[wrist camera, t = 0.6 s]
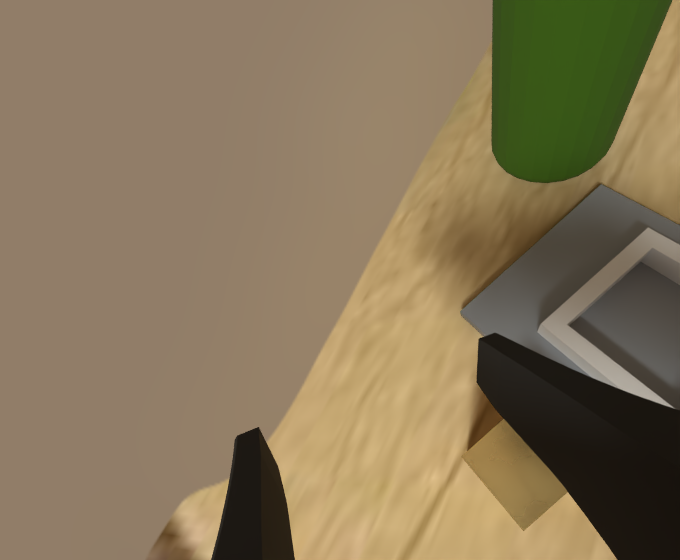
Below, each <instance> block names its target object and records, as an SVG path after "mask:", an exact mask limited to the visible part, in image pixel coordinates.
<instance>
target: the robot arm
mask: <svg viewBox="0 0 680 560" xmlns="http://www.w3.org/2000/svg"><path fill="white" fill-rule="evenodd" d="M477 384H478V385H479V387H480V388H481V389H482V391H483V392H484V394H485V395H486V397H487V398H488V400H489V401H490V402H491V404H492V405H493V406H494V408H495V409H496V410H497V412H498V413H499V414H500V415H501V416H502V417H503V418H504V420H505V421H506V422H507V423H508V424H509V425H510V426H511V427H512V428H513V430H514V431H515V432H516V433H517V434H518V435H519V436H520V437H521V438H522V440H523V441H524V442H525V443H526V444H527V445H528V446H529V447H530V448H531V450H532V451H533V452H534V453H535V454H536V455H537V456H538V457H539V458H540V459H541V461H542V462H543V463H544V464H545V465H546V466H547V467H548V468H549V469H550V471H551V472H552V473H553V474H554V475H555V476H556V478H557V479H558V480H559V481H560V482H561V484H562V485H563V486H564V487H565V489H566V490H567V491H568V493H569V494H570V495H571V497H572V498H573V499H574V501H575V502H576V503H577V505H578V506H579V507H580V508H581V510H582V511H583V512H584V514H585V515H586V516H587V518H588V519H589V521H590V522H591V523H592V525H593V526H594V527H595V529H596V530H597V532H598V533H599V534H600V536H601V537H602V538H603V540H604V541H605V543H606V544H607V545H608V547H609V548H610V549H611V551H612V552H613V554H614V555H615V557H616V558H617V560H680V410H678V409H675V408H671V407H668V406H665V405H662V404H660V403H657V402H654V401H651V400H648V399H645V398H643V397H640V396H637V395H634V394H631V393H629V392H626V391H624V390H621V389H618V388H616V387H613V386H611V385H609V384H606V383H604V382H601V381H599V380H596V379H594V378H592V377H589V376H587V375H585V374H582V373H580V372H578V371H576V370H573V369H571V368H569V367H567V366H565V365H562V364H560V363H558V362H556V361H554V360H552V359H550V358H547V357H545V356H543V355H541V354H539V353H537V352H535V351H533V350H531V349H529V348H527V347H525V346H523V345H520V344H518V343H516V342H514V341H512V340H510V339H508V338H506V337H504V336H502V335H500V334H498V333H492V334H490V335H487V336H485V337H482V338H480V339H479V343H478V363H477ZM211 560H295V558H294V551H293V544H292V536H291V529H290V522H289V515H288V508H287V502H286V498H285V493H284V489H283V485H282V481H281V477H280V472H279V468H278V465H277V463H276V461H275V459H274V457H273V455H272V453H271V451H270V449H269V447H268V445H267V443H266V441H265V439H264V437H263V435H262V433H261V431H260V429H259V427H258V428H255V429H253V430H250V431H248V432H245V433H243V434H240V435H238V436H237V437H236V439H235V443H234V453H233V460H232V468H231V473H230V479H229V485H228V490H227V495H226V500H225V505H224V509H223V514H222V519H221V523H220V528H219V532H218V536H217V540H216V543H215V547H214V551H213V555H212V559H211Z"/></svg>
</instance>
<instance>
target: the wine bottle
mask: <svg viewBox="0 0 680 560" xmlns="http://www.w3.org/2000/svg"><path fill="white" fill-rule="evenodd" d="M671 2H672V0H493V32H492V151H493V154H494V156H495V158H496V160H497V162H498V164H499V165H500V166H501V167H502V168H503V169H504V170H505V171H506V172H508V173H509V174H511V175H513V176H515V177H517V178H519V179H523V180H526V181H530V182H541V183H550V182H557V181H564V180H567V179H570V178H573V177H576V176H579V175H580V174H582V173H584V172H585V171H587V170H589V169H591V168H592V167H593V166H594V165H595V164H596V163H598V162H599V161H600V160H601V159H602V158H603V157H604V156H605V155H606V154H607V152H608V150H609V148H610V147H611V145H612V143H613V141H614V138H615V136H616V134H617V131H618V129H619V127H620V124H621V122H622V119H623V117H624V115H625V112H626V110H627V107H628V105H629V103H630V100H631V98H632V95H633V93H634V91H635V88H636V86H637V83H638V81H639V79H640V76H641V74H642V72H643V69H644V67H645V64H646V62H647V60H648V57H649V55H650V52H651V50H652V48H653V45H654V43H655V40H656V38H657V36H658V33H659V31H660V29H661V26H662V24H663V21H664V19H665V17H666V14H667V12H668V9H669V7H670V5H671Z"/></svg>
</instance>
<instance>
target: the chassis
mask: <svg viewBox="0 0 680 560" xmlns="http://www.w3.org/2000/svg"><path fill="white" fill-rule="evenodd" d="M460 313H461V316H462V317H463V318H464V319H465V320H467V321H468V322H469V323H470V324H471V325H472V326H473V327H474V328H475V329H476V330H477V331H478V332H480V333H481V334H482V335H483V336H484V337H485V336H487V335H490V334H492V333H498V334H500V335H502V336H504V337H506V338H508V339H510V340H512V341H514V342H516V343H518V344H520V345H523V346H525V347H527V348H529V349H531V350H533V351H535V352H537V353H539V354H541V355H543V356H545V357H547V358H550V359H552V360H554V361H556V362H558V363H560V364H562V365H565V366H567V367H569V368H571V369H573V370H576V371H578V372H580V373H582V374H585V375H587V376H589V377H592V378H594V379H596V380H599V381H601V382H604V383H606V384H609V385H611V386H613V387H616V388H618V389H621V390H624V391H626V392H629V393H631V394H634V395H637V396H640V397H643V398H645V399H648V400H651V401H654V402H657V403H660V404H662V405H665V406H668V407H671V408H675V409H678V410H680V225H678V224H676V223H674V222H673V221H671V220H669V219H667V218H665V217H663V216H661V215H659V214H657V213H655V212H653V211H651V210H650V209H648V208H646V207H644V206H642V205H640V204H638V203H636V202H634V201H632V200H630V199H629V198H627V197H625V196H623V195H621V194H619V193H617V192H615V191H613V190H611V189H609V188H608V187H606V186H604V185H602V184H601V185H600V186H599V187H598V188H596V189H595V190H594V191H593V192H592V193H591V194H590V195H589V196H588V197H586V198H585V199H584V200H583V201H582V202H581V203H580V204H579V205H578V206H576V207H575V208H574V209H573V210H572V211H571V212H570V213H569V214H568V215H566V216H565V217H564V218H563V219H562V220H561V221H560V222H559V223H558V224H556V225H555V226H554V227H553V228H552V229H551V230H550V231H549V232H548V233H547V234H545V235H544V236H543V237H542V238H541V239H540V240H539V241H538V242H537V243H535V244H534V245H533V246H532V247H531V248H530V249H529V250H528V251H527V252H525V253H524V254H523V255H522V256H521V257H520V258H519V259H518V260H517V261H515V262H514V263H513V264H512V265H511V266H510V267H509V268H508V269H507V270H505V271H504V272H503V273H502V274H501V275H500V276H499V277H498V278H497V279H495V280H494V281H493V282H492V283H491V284H490V285H489V286H488V287H487V288H485V289H484V290H483V291H482V292H481V293H480V294H479V295H478V296H477V297H476V298H474V299H473V300H472V301H471V302H470V303H469V304H468V305H467V306H466V307H464V308H463V309H462V310H461V311H460Z"/></svg>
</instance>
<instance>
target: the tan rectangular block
mask: <svg viewBox="0 0 680 560" xmlns="http://www.w3.org/2000/svg"><path fill="white" fill-rule="evenodd" d="M461 457H462V458H463V459H464V460H465V462H466V463H467V464H468V465H469V466H470V468H471V469H472V470H473V471H474V472H475V474H476V475H477V476H478V477H479V478H480V480H481V481H482V482H483V483H484V484H485V486H486V487H487V488H488V489H489V490H490V491H491V493H492V494H493V495H494V496H495V497H496V499H497V500H498V501H499V502H500V503H501V505H502V506H503V507H504V508H505V509H506V511H507V512H508V513H509V514H510V515H511V517H512V518H513V519H514V520H515V521H516V523H517V524H518V525H519V526H520V527H521V529H522V530H523V531H524V530H525V529H526V528H528V527H529V526H530V525H531V524H532V523H533V522H534V521H535V520H537V519H538V518H539V517H540V516H541V515H542V514H543V513H544V512H546V511H547V510H548V509H549V508H550V507H551V506H552V505H553V504H555V503H556V502H557V501H558V500H559V499H560V498H561V497H562V496H564V495H565V494H566V493H567V492H568V491H567V490H566V489H565V487H564V486H563V485H562V484H561V482H560V481H559V480H558V479H557V478H556V476H555V475H554V474H553V473H552V472H551V471H550V469H549V468H548V467H547V466H546V465H545V464H544V463H543V462H542V461H541V459H540V458H539V457H538V456H537V455H536V454H535V453H534V452H533V451H532V450H531V448H530V447H529V446H528V445H527V444H526V443H525V442H524V441H523V440H522V438H521V437H520V436H519V435H518V434H517V433H516V432H515V431H514V430H513V428H512V427H511V426H510V425H509V424H508V423H507V422H506V421H505V420H504V419H503V420H502V421H501V422H499V423H498V424H497V425H496V426H495V427H494V428H493V429H492V430H490V431H489V432H488V433H487V434H486V435H485V436H484V437H483V438H482V439H480V440H479V441H478V442H477V443H476V444H475V445H474V446H473V447H471V448H470V449H469V450H468V451H467V452H466V453H465V454H464V455H463V456H461Z"/></svg>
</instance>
